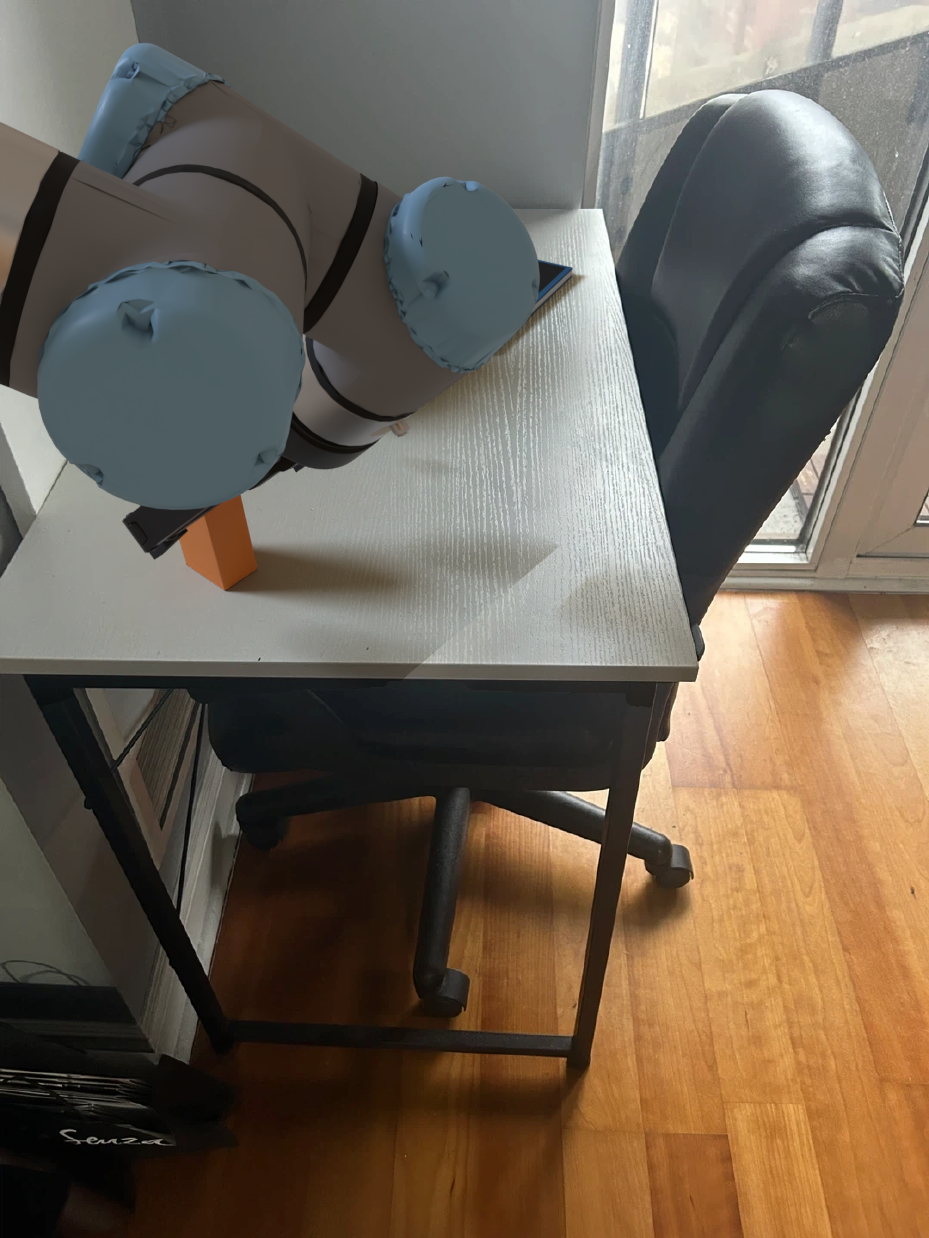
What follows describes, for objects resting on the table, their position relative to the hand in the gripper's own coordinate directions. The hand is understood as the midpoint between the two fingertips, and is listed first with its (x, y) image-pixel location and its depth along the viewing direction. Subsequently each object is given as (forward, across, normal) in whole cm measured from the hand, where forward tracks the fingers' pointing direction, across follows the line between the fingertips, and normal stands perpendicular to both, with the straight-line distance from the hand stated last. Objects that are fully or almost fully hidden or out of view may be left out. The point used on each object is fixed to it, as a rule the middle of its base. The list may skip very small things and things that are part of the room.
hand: (221, 496), depth 71 cm
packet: (+8, 0, -4) cm, 9 cm away
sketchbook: (+23, +48, +11) cm, 55 cm away
